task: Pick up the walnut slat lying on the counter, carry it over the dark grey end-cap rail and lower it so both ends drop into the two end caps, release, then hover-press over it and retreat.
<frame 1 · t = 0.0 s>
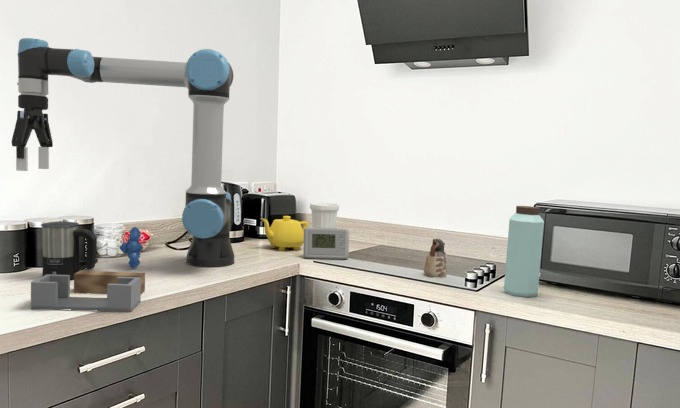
hand: (33, 169, 163), 28 cm above the worktop, fingers open, 13 cm apart
figurine: (435, 276, 181), on the worktop
teapot: (283, 249, 215), on the worktop
slat: (109, 292, 142), on the worktop
cup: (322, 240, 239), on the worktop
digital clock: (325, 259, 200), on the worktop
water bottle: (520, 294, 163), on the worktop
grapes: (130, 267, 170), on the worktop
milk frother: (70, 275, 157), on the worktop
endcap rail: (87, 305, 129), on the worktop
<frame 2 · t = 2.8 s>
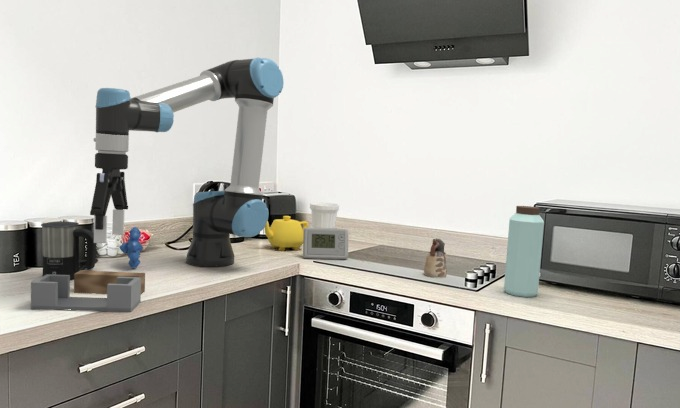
hand: (109, 238, 140), 13 cm above the worktop, fingers open, 13 cm apart
nothing on the worktop moved.
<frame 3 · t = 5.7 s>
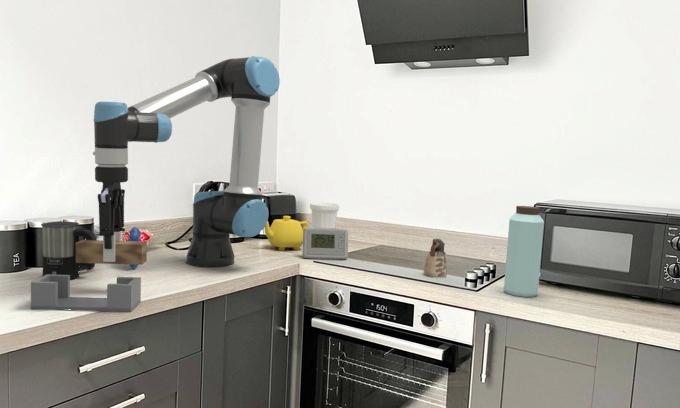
hand: (112, 259, 141), 8 cm above the worktop, fingers closed on slat, 4 cm apart
slat: (111, 261, 142), point 8 cm above the worktop, touching gripper
everything else where it was.
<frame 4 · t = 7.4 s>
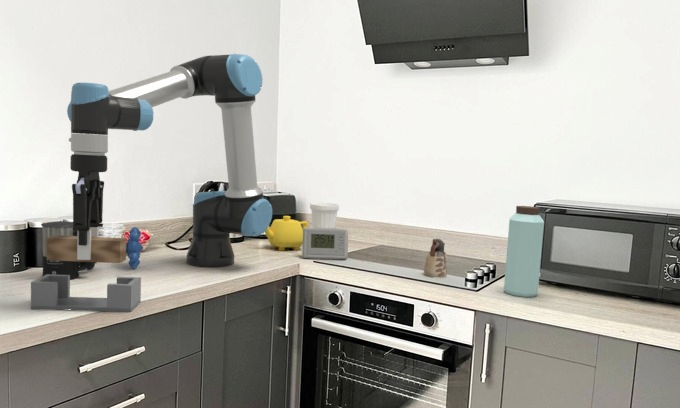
hand: (87, 257, 128), 11 cm above the worktop, fingers closed on slat, 4 cm apart
slat: (86, 259, 128), point 11 cm above the worktop, touching gripper
everything else where it was.
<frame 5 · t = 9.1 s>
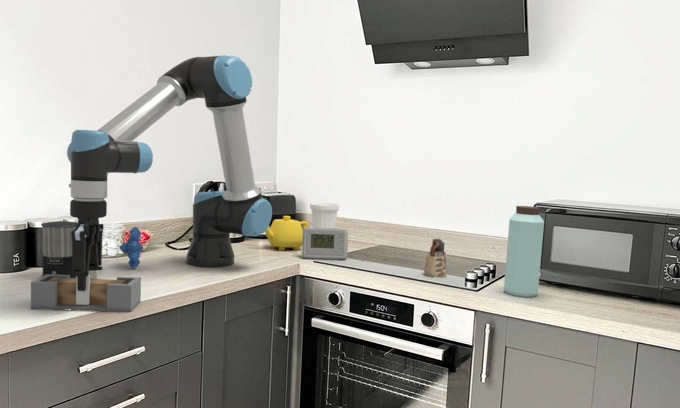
hand: (86, 301, 129), 1 cm above the worktop, fingers closed on slat, 4 cm apart
slat: (86, 302, 129), point 1 cm above the worktop, touching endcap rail, gripper
everything else where it was.
when the fingers open (1 cm above the worktop, at t = 9.1 s): slat stays where it is, resting on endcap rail.
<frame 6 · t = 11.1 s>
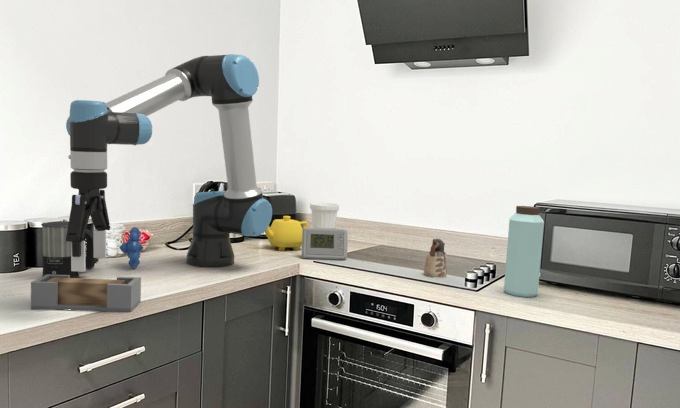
hand: (89, 264, 129), 10 cm above the worktop, fingers open, 13 cm apart
slat: (86, 302, 129), point 1 cm above the worktop, touching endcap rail
everything else where it was.
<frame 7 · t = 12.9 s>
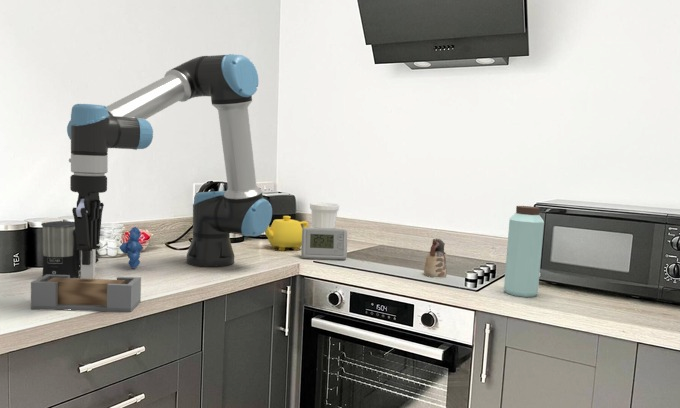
hand: (88, 277, 129), 6 cm above the worktop, fingers closed
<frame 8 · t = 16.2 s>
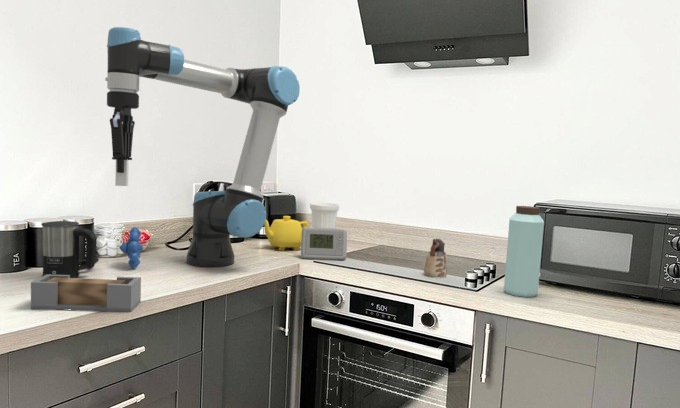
hand: (121, 185, 144), 26 cm above the worktop, fingers closed
at the end: slat 0.3 cm off-centre on the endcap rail, point 0.8 cm above the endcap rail's base; slat tilted 0°; the gripper is holding nothing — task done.
